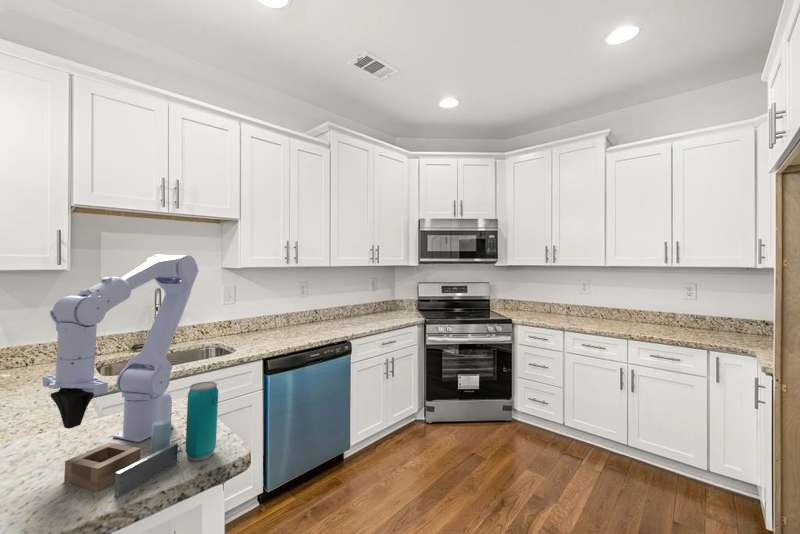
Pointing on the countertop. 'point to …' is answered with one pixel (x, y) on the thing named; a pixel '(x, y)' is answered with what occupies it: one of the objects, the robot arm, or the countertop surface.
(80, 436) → the countertop surface
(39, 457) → the countertop surface
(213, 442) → the beverage can
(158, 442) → the dowel
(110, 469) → the block
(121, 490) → the wall
